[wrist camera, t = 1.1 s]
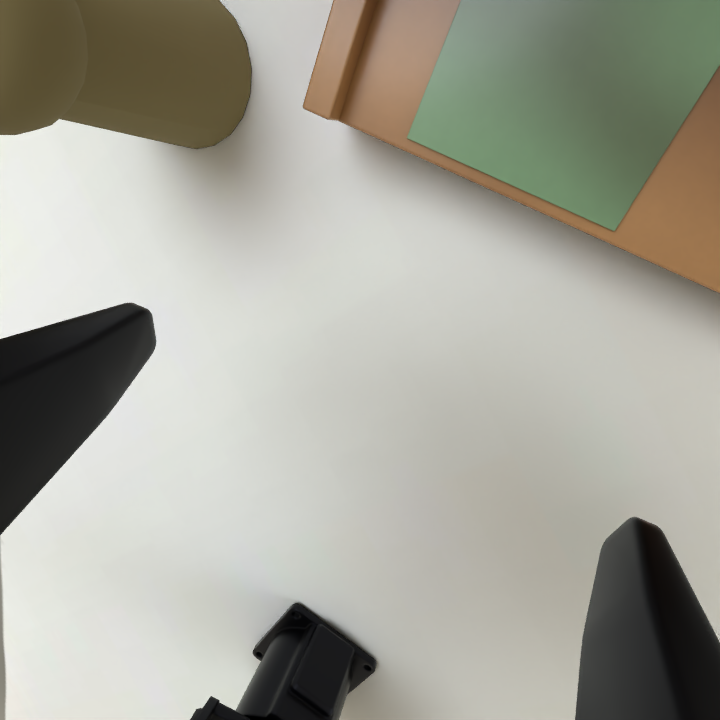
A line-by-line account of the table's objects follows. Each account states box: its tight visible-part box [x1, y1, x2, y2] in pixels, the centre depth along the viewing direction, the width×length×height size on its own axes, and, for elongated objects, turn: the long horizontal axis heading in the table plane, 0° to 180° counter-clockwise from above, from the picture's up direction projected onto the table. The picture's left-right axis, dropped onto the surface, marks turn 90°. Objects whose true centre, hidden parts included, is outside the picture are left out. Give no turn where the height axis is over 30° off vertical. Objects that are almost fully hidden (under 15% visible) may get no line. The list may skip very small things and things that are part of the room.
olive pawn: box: [0, 0, 251, 149], centre depth 17 cm, size 6×6×11 cm
